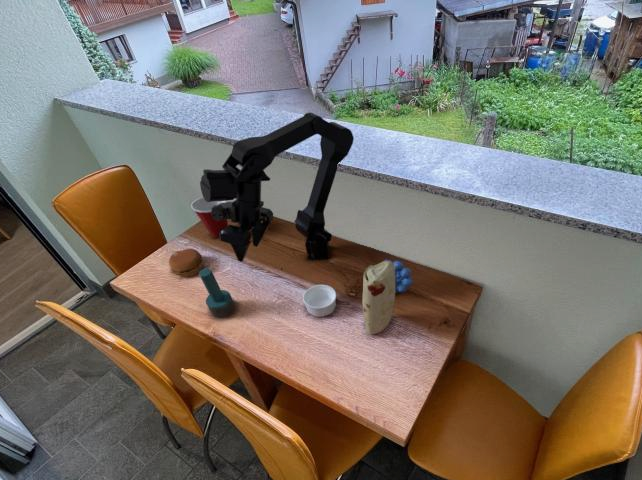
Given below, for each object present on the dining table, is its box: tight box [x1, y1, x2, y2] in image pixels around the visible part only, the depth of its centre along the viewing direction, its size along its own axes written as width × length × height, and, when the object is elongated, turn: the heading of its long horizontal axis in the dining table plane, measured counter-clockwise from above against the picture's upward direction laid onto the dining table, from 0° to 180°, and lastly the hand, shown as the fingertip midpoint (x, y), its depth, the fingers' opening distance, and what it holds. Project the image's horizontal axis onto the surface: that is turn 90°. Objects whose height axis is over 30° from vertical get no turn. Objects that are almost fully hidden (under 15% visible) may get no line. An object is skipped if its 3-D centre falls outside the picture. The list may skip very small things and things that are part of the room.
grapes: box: [382, 258, 414, 294], centre depth 95 cm, size 12×7×12 cm, turn 59°
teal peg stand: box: [198, 267, 236, 319], centre depth 90 cm, size 6×6×14 cm
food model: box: [361, 260, 396, 336], centre depth 83 cm, size 10×7×20 cm
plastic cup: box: [190, 196, 229, 239], centre depth 115 cm, size 11×11×12 cm
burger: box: [168, 248, 204, 278], centre depth 106 cm, size 10×9×5 cm
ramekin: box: [302, 284, 337, 318], centre depth 94 cm, size 9×9×4 cm
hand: (248, 253), depth 93 cm, fingers open, 9 cm apart
